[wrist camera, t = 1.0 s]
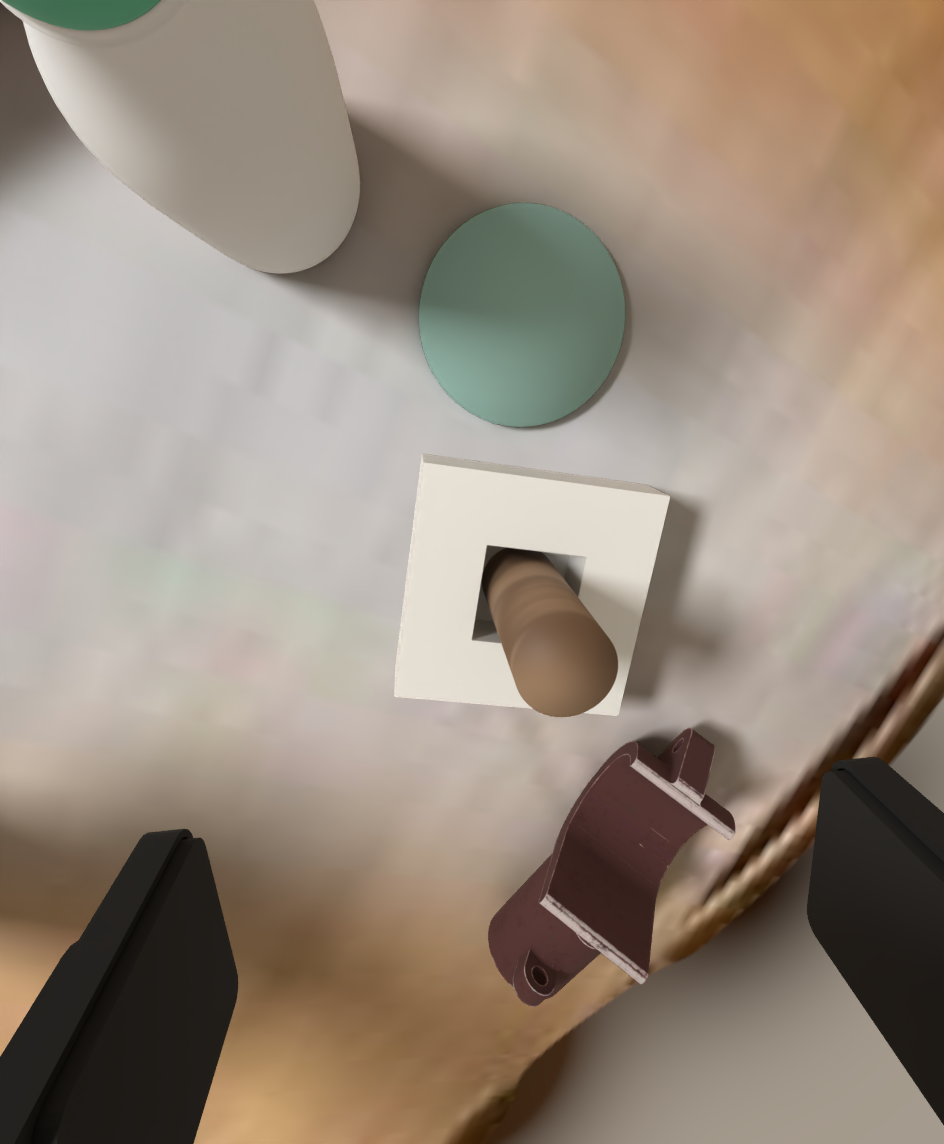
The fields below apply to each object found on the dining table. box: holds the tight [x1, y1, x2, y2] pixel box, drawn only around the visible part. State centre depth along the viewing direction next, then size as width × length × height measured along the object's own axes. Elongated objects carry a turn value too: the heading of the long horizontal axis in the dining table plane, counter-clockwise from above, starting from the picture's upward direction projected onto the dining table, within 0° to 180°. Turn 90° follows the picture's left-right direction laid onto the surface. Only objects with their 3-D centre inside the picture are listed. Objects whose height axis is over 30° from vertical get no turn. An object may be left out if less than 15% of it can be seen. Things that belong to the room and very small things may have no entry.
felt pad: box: [419, 203, 625, 427], centre depth 31 cm, size 10×10×1 cm
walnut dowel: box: [482, 547, 618, 717], centre depth 29 cm, size 4×4×11 cm
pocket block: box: [394, 454, 670, 716], centre depth 33 cm, size 12×12×4 cm
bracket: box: [488, 728, 735, 1007], centre depth 36 cm, size 6×17×10 cm, turn 150°
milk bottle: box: [0, 0, 360, 273], centre depth 19 cm, size 8×8×20 cm
